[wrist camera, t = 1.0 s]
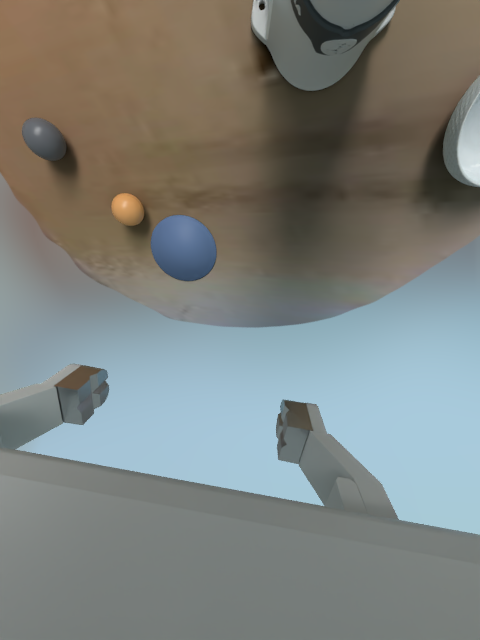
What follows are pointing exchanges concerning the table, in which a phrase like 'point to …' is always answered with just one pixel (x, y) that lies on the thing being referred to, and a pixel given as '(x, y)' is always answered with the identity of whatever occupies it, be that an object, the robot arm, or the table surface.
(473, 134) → the cereal bowl
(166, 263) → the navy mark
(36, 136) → the charcoal ball
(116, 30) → the table surface
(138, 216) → the orange ball
